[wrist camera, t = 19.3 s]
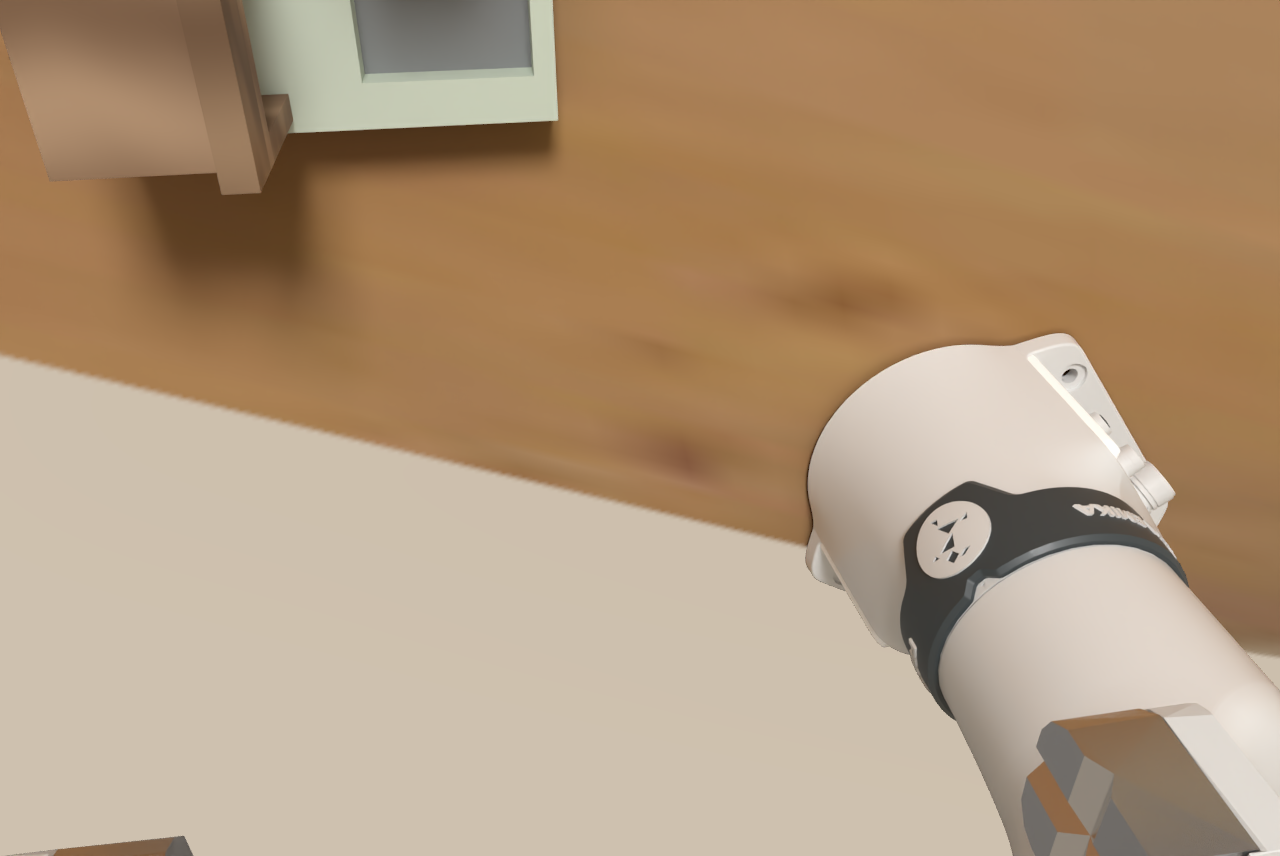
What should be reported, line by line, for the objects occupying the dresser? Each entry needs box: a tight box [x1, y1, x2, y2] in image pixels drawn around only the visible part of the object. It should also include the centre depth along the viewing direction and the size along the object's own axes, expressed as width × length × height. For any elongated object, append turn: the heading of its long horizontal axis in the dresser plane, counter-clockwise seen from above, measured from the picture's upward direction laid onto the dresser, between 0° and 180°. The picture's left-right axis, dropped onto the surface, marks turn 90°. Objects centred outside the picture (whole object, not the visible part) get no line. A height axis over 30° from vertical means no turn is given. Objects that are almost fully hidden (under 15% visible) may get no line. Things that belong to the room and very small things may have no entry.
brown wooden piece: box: [0, 0, 293, 195], centre depth 33 cm, size 9×7×8 cm
